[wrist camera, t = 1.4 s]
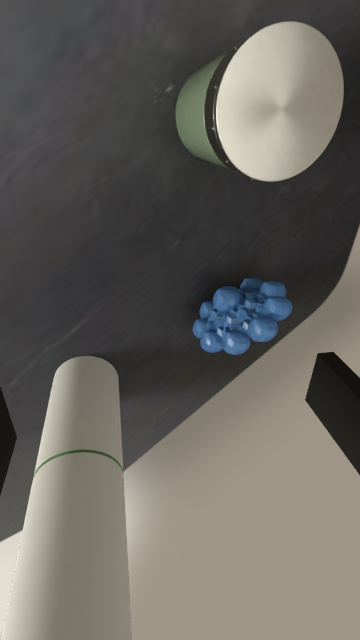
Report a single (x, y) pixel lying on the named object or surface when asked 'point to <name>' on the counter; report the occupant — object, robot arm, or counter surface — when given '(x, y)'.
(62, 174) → the counter surface
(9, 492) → the counter surface
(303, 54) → the flask lid
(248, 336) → the grapes
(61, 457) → the container
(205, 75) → the flask
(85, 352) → the counter surface
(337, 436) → the robot arm
